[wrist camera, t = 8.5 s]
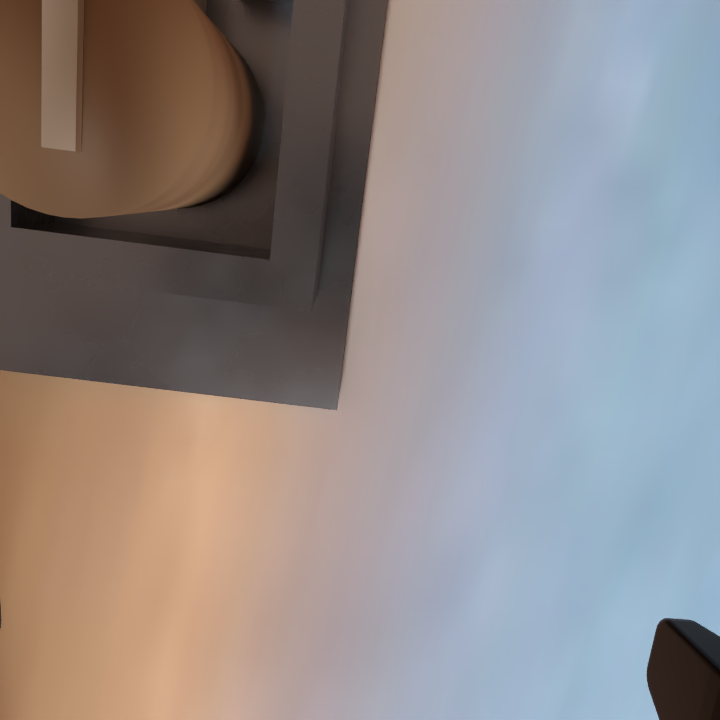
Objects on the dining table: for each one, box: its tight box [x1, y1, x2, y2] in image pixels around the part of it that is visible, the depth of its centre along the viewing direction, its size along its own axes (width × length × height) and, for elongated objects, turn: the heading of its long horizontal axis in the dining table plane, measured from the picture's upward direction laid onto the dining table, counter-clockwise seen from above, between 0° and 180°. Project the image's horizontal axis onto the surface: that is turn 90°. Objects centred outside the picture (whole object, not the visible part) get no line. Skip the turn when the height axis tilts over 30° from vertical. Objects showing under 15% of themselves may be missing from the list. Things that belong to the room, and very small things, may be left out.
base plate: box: [0, 0, 388, 410], centre depth 17 cm, size 11×16×3 cm
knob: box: [0, 0, 264, 219], centre depth 15 cm, size 5×6×7 cm
